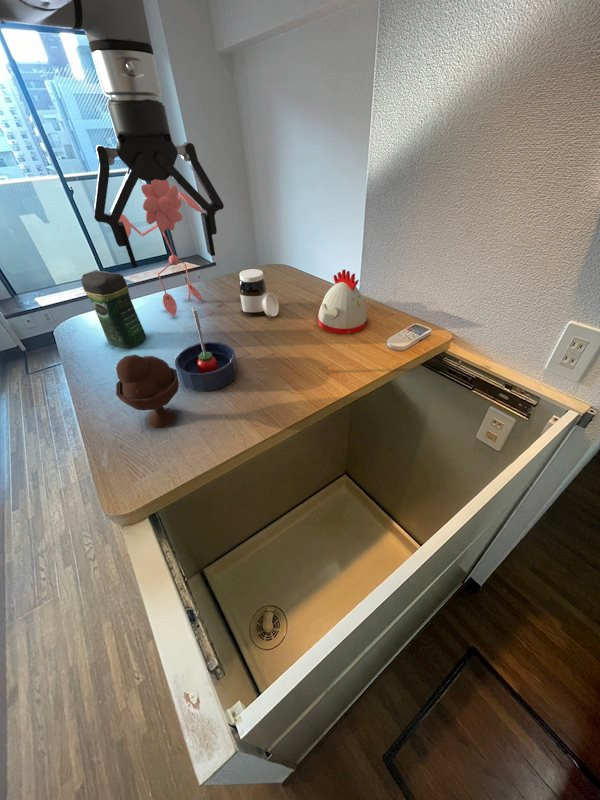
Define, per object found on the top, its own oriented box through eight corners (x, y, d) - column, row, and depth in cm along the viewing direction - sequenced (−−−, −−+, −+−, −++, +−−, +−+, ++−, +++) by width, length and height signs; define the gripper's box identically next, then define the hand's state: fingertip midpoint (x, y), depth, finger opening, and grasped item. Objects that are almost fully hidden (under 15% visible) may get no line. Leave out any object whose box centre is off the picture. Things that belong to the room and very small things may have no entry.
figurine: (141, 321, 97) (90, 181, 74) (204, 291, 114) (178, 169, 91) (176, 334, 91) (132, 187, 68) (237, 301, 107) (218, 172, 84)
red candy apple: (202, 380, 74) (185, 316, 64) (197, 370, 77) (180, 307, 67) (221, 375, 76) (208, 311, 65) (216, 365, 79) (202, 302, 68)
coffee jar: (152, 338, 90) (128, 269, 78) (130, 352, 85) (100, 281, 72) (126, 331, 93) (99, 264, 81) (103, 344, 88) (71, 275, 75)
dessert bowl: (168, 382, 75) (162, 364, 71) (206, 354, 84) (202, 337, 80) (213, 399, 70) (209, 381, 67) (248, 367, 79) (246, 350, 75)
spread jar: (244, 304, 105) (239, 267, 98) (279, 303, 106) (277, 266, 98) (240, 321, 96) (235, 282, 89) (279, 320, 97) (276, 281, 89)
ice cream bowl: (160, 446, 60) (131, 383, 50) (122, 424, 65) (89, 362, 55) (201, 412, 67) (183, 350, 57) (164, 394, 71) (141, 334, 62)
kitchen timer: (343, 339, 88) (348, 284, 78) (308, 321, 96) (308, 270, 86) (375, 322, 95) (383, 270, 85) (340, 307, 103) (344, 258, 93)
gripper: (25, 96, 38) (99, 277, 52) (230, 99, 47) (246, 254, 61) (31, 99, 43) (97, 264, 57) (215, 101, 52) (233, 244, 66)
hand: (174, 259), depth 59 cm, fingers open, 13 cm apart
